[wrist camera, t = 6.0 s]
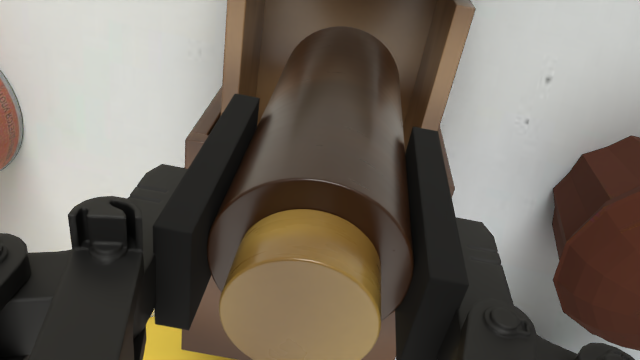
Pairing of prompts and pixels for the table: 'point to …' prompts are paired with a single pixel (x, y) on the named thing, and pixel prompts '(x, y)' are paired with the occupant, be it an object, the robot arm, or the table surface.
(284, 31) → the drawer
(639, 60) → the table surface
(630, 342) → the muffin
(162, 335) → the teapot
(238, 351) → the cabinet
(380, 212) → the bottle
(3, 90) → the canned food
